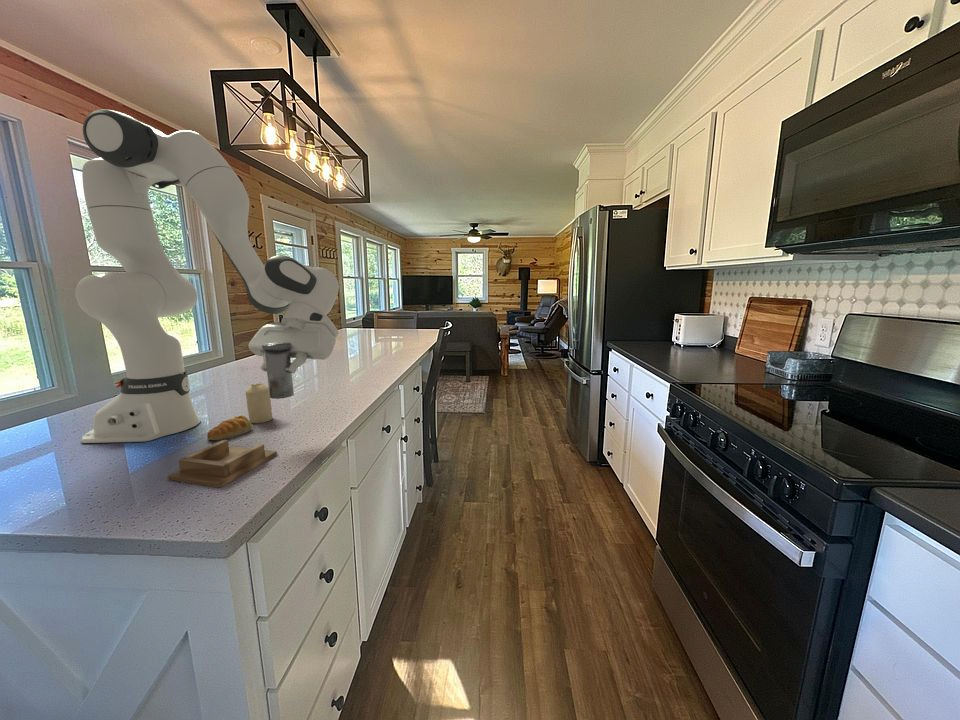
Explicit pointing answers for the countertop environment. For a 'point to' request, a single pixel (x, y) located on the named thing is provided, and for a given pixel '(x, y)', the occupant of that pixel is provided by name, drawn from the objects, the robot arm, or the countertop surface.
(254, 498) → the countertop surface
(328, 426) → the countertop surface
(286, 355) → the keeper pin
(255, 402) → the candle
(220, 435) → the pastry
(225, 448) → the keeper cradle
